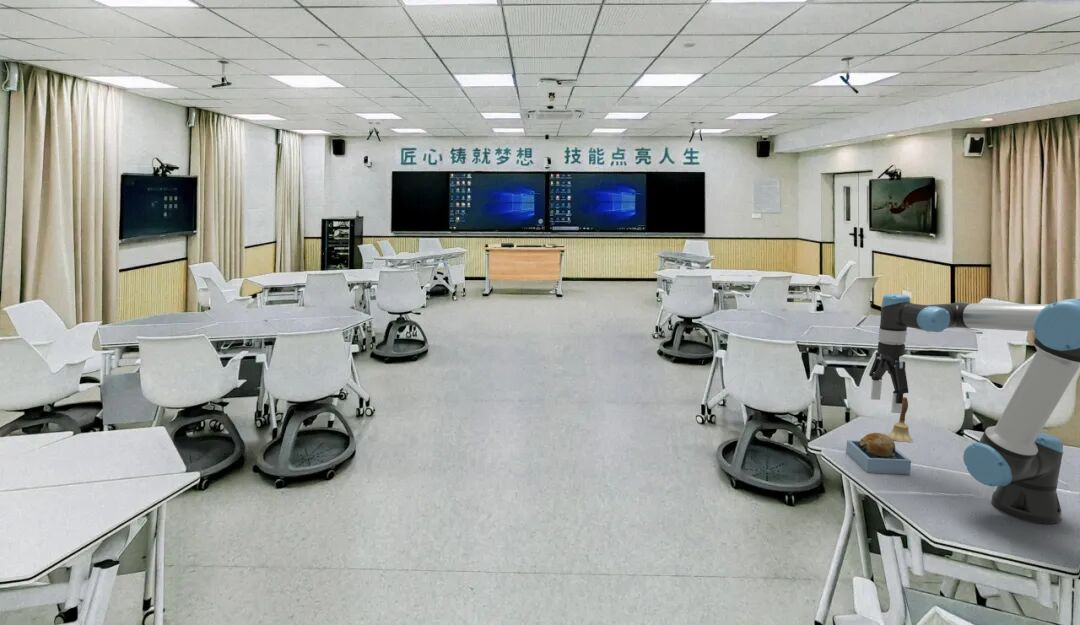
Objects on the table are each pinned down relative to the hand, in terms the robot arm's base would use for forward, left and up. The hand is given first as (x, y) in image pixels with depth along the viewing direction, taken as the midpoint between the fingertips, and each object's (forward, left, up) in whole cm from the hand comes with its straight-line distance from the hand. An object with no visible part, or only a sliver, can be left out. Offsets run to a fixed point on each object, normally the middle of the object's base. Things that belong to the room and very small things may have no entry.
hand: (885, 405), depth 190 cm
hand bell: (+26, -19, -21) cm, 38 cm away
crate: (0, +1, -21) cm, 21 cm away
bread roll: (0, +1, -16) cm, 16 cm away
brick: (0, +1, -20) cm, 20 cm away
